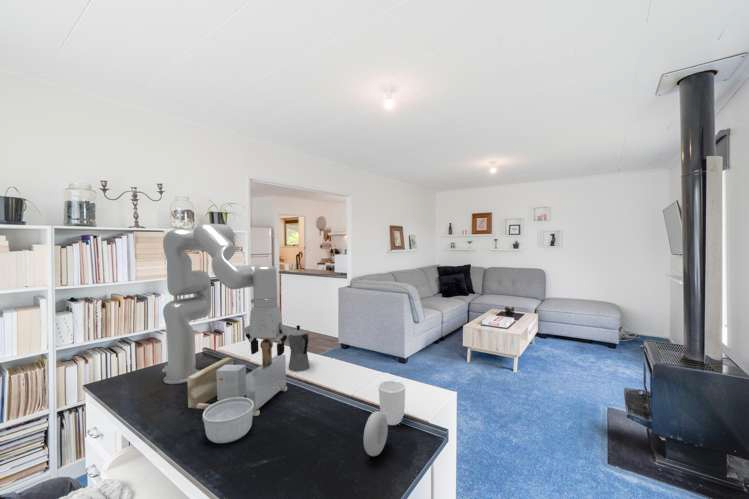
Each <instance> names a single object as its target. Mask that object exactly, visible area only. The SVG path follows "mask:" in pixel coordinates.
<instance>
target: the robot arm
mask: <svg viewBox="0 0 749 499" xmlns="http://www.w3.org/2000/svg"><path fill="white" fill-rule="evenodd" d="M234 240H235V232H234V230H233V228H232V227H231V226H229V225H227V224H223V223H207V222H206V223H201V224H198V225H197V226H196V227H194V228H176V229H175V228H174V229H172V230H169V231H167V232H166V234H165V235H164V236H163V241H162V248H163V251H164V256H165V259H166V280H167V282H166V286H167V291H168V293H169V295H171V296H174V297H181V296H182V297H183V296H188V295H193V296H191V297H184V298H178V299H177V298H176V299H174V300H171V301H168V302H167V303H166V304H165V305H164V307H163V309H162V315H163V318H164V323H165V329H166V330H165V331H166V344H167V345H166V348H167V365H165V366H164V368H162V370H161V372H162V373H165V374H166V375H165V376H164V377H163V382H164V384H168V385H179V384H184V383H188V381H187V377H189V376H191V375H193V374H195V373H197V372H199V371H200V370H199V369H197V367H196V363H197V362H196V339H195V338H196V336H195V335H196V334H195V330H194V328H193V327H192V326H191V324H190V323H189V322H192V321H197V320H201V319H204V318H206V317H207V316H208V317H209V315H210V313H211V310H212V282H211V278H210V277H211V276H210V275H209V274H208V273H207V272H206V271H205V270H201V269H199V270H198V269H197V270H193V268H192V266H193V262H192V259H191V257H190V255H189V254H188V253H187V251H204V252H206V254H208V255H209V256H210V257H211V259H212V261H211V267H212V271H213V275H214V276H215V278H216V279H217V280H218V281H219V282H220V284H222V285H224V287H226V288H228V289H230V290H240V289H245V288H247V289H248V288H252V287H253V288H252V289H253V293H252V294H253V298H252V299H251V300H250V302H251V304H253V307H251V309H250V310H251V311H250V317H249V325H247V326H245V327H243V332H244V334H245V337H246V339H247V340H248V342H249V343H250V353H251V355H255V354H257V353H258V352H259V348H260V347H259V339H270V340H272V339H275V341H276V342H277V343H276V355H278V356H280V355H284V353H285V342H286V341H287V339H288V337H289V334H290V332H291V330H292V329H291V328H290V327H287V326H286V325H284V324H283V318H282V317H283V316H282V311H281V308H280V305H279V304H278V302H279V301H278V285H277V284H278V282H277V278H278V277H277V269H276V267H275V266H273V265H259V264H250V265H249V264H248V265H238V266H237V265H236V266H234V265H232V264H231V263H230V262H228V261H229V260H230V259H232V258H233V256H235V253H236V246H235V244H234V243H233V242H234ZM283 333H284V334H283Z"/></svg>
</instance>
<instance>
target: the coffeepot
mask: <svg viewBox="0 0 749 499" xmlns="http://www.w3.org/2000/svg"><path fill="white" fill-rule="evenodd" d="M309 335H310V331H309V330H307V329H301V325H296V329H291V332H290V334H289V337H288V338H287V339H288V344H289V349H290V355H289V362H288V370H289V371H291V372H292V371H293V372H302V371H306V370H308V369H309V368H310V360H309V356H308V347H309Z"/></svg>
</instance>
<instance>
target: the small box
mask: <svg viewBox="0 0 749 499" xmlns="http://www.w3.org/2000/svg"><path fill="white" fill-rule="evenodd" d="M246 375H247V365H246V364H234V365H224V366H222V367H221V368H219V369H218V370H217V371H216V376H217V395H216V396H217V398H216V399H217V402H218V401H221V400H224V399H228V398H234V397H244V398H245V397H246V396H247V395H246Z"/></svg>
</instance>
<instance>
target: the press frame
mask: <svg viewBox="0 0 749 499" xmlns="http://www.w3.org/2000/svg"><path fill="white" fill-rule="evenodd" d="M224 365H235V364H234V357H225V358H222V359H221V360H219V361H216V362H214V363H213V364H211V365H209V366H206V367H205V368H202V369H201V370H199V372H197V373H195V374H193V375H191V376H189V377H187V381H188V382H187V402H188V403H187V404H188V408H190V409H199V410H205V409H206V408H208V407H209V406H210V405H212V404H213V403H212V404H211V403H207V402H209V401H210V400H212V399H213V398H215V397H216V396H217V376H216V371H217V370H218V369H219V368H221V367H222V366H224ZM287 390H288V386H287V385H286V386H285V387H283V388H282V389H281V390H280V391H279V392H286V391H287ZM260 412H261V411H260V409H257V410H256V411H253V417H256V416H257V417H258V416H259V415H260Z"/></svg>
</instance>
